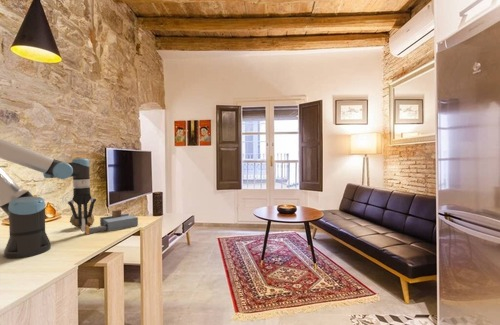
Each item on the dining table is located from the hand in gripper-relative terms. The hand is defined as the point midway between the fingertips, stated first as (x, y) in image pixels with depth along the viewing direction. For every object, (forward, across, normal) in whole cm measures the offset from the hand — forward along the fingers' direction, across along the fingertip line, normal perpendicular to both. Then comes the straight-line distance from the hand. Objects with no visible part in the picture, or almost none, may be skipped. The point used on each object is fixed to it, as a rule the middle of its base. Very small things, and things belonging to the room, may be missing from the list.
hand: (83, 230), depth 134 cm
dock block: (+2, +19, +6) cm, 20 cm away
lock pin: (+2, +8, 0) cm, 8 cm away
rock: (+2, +3, +18) cm, 19 cm away
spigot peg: (+2, +19, +9) cm, 21 cm away
